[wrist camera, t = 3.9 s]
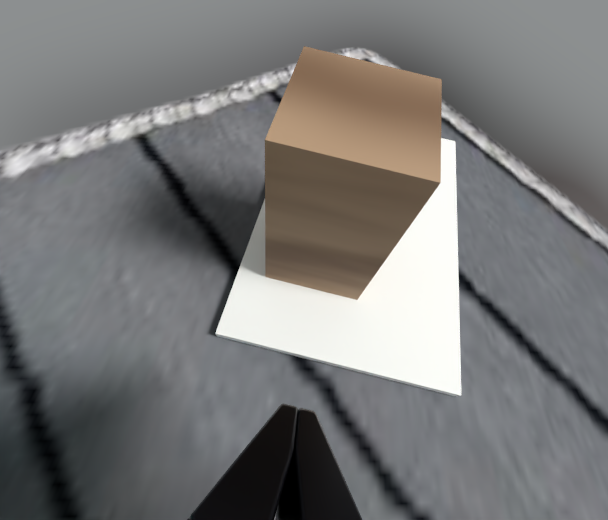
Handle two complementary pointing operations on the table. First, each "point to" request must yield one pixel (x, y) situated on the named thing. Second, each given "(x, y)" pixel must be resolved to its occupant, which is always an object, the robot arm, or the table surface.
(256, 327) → the white mat
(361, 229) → the walnut block
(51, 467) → the table surface
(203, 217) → the table surface
